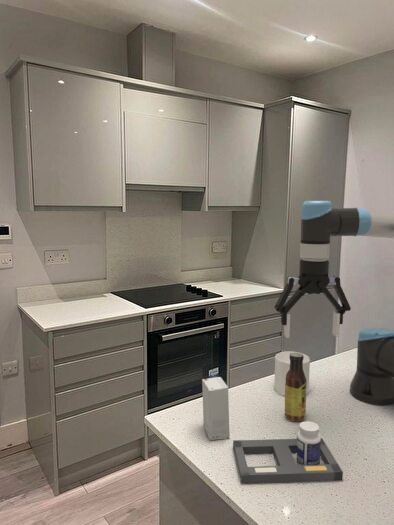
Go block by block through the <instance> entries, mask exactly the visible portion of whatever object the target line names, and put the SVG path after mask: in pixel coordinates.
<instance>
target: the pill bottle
mask: <svg viewBox="0 0 394 525" xmlns="http://www.w3.org/2000/svg"><path fill="white" fill-rule="evenodd" d="M321 438H322V437H321V435H320V426H319V424H317V423H316V422H313V421H309V420H308V421H307V420H306V421H302V422H300V424H299V431H298V433H297V436H296V439H297V453H296V463H297V465H321V464H320V463H321V457H320V447H321Z"/></svg>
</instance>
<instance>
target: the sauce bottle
mask: <svg viewBox="0 0 394 525" xmlns="http://www.w3.org/2000/svg"><path fill="white" fill-rule="evenodd" d="M293 352H294V353H290V369H289V371H288V372H287V374H286V383H285V396H284V416H285V418H286V419H287V420H289V421H292V422H301V421H302V422H303V420H305V417H306V413H307V412H306V409H307V408H306V407H307V406H306V404H307V402H306V401H307V395H306V382H307V380H306V377H305V374H304V371H303V354H304V353H302V352H298V351H293ZM297 352H298V353H297ZM301 353H302V354H301Z"/></svg>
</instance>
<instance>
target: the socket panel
mask: <svg viewBox="0 0 394 525" xmlns="http://www.w3.org/2000/svg"><path fill="white" fill-rule="evenodd" d="M232 449H233V454H234V458H235V463H236V467H237V472H238V476H239V481H240V484H241V485H246V484H247V485H250V484H251V485H253V484H254V485H255V484H278V483H279V484H280V483H281V484H282V483H310V482H316V483H317V482H337V481H339V482H342V481H343V476H344V475H343V474H344V472H343V470H342V468H341V466H340V465H339V464H338V462H337V460H336V458H335V457H334V455H333V454H332V452H331V450H330V449H329V447H328V446H327V444H326V442H325V441H324V439H323V438H322V437H321V447H320V460H321V461H322V462H323V463H321V464H320V465H299V464H298V463H297V461H296V460H295V458H294V456H293V454H297V438H279V439H277V438H276V439H274V438H273V439H269V438H268V439H237V440H232ZM248 455H249V456H251V455H273V458H274V461H275V464H276V465H267V466H266V465H264V466H263V465H262V466H261V465H260V466H248V464H247V459H246V456H248Z"/></svg>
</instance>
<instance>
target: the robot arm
mask: <svg viewBox="0 0 394 525" xmlns="http://www.w3.org/2000/svg"><path fill="white" fill-rule="evenodd" d="M300 214H301V216H300V246H299V247H300V249H299V257H300V260H299V272H298V277H292V276H290V275H289V276H288V277H287V278H286V284H285V286H284V288H283V290H282V292H281V294H280V295H279V298H278V299H277V302H276V303H275V304H274V307H273V308H274V310H276V312H278V313H280V324H281V325H282V326H283V334H284V337H285V338H287V339H289V338H290V330H291V329H290V328H291V313H290V311H291V309H292V308H293V307H294V306H296V303H298V301H299V300H300V299H302V297H303V296H304V295H306V294H308V295H313V294H317V295H320V294H323V295H324V297H325V298H326V299H327V300H328V301H329V303H330V304H331V305H332V307H334V309H335V311H333V313H332V314H333V316H332V335H333V337H336V338H340V325H343V323H344V314H346V312H347V311H351V309H352V308H351V306H350V305H351V304H350V303H349V301H348V298H347V296H346V294H345V292H344V290H343V288H342V286H341V285H342V284H341V278H340V277H339V276H336V275H333V276H332V277H329V272H330V271H329V270H330V261H329V260H328V259H330V250H331V249H330V247H331V245H330V243H331V237H357V236H358V237H360V236H361V237H371V238H373V237H374V238H386V239H394V214H392V213H381V212H371V211H370V212H369V211H368V210H367V209H366V208H360V207H333V206H332V202H331V201H330V200H305V201H303V203H302V207H301V212H300ZM297 283H298V285H299V287H298V288H297V289H296V291H295V292H294V293H293V294H292V296H290V294H291V293H292V290H293V288H294V286H296V284H297ZM329 284H331V285H332V287H333V288H334V291H335V293H336V295H337V297H338V299H339V301H340V303H339V302H338V301H337V300H336V299H335V297H334V295H333V294H332V293H331V292H330V291H329V289H328V288H327V286H328V285H329ZM289 296H290V298H289ZM288 298H289V299H288ZM356 355H357V356H356V370H355V373H354V375H353V378H352V380H351V382H350V385H349V393H350V395H352V397H354V398H355V399H357V400H359V401H361V402H364V403H367V404H371V405H376V406H377V405H378V406H391V405H394V329H391V328H387V327H386V328H385V327H367V328H362V329H361V330H360V331H359V332H358V339H357V354H356Z"/></svg>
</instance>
